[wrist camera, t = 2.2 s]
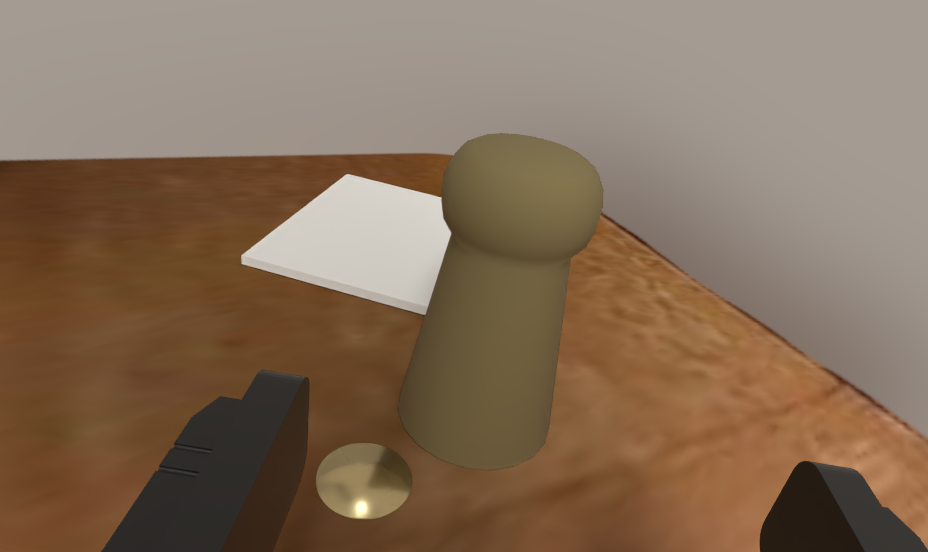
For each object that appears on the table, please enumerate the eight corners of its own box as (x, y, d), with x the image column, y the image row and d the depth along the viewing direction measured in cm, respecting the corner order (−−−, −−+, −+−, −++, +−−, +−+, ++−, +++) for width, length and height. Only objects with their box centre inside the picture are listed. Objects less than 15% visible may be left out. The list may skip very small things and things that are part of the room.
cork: (546, 486, 22) (639, 201, 17) (380, 448, 22) (417, 157, 17) (550, 380, 27) (621, 137, 22) (415, 350, 28) (452, 103, 22)
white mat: (241, 264, 31) (241, 255, 31) (346, 180, 43) (346, 173, 42) (490, 333, 30) (492, 324, 29) (532, 227, 41) (533, 220, 41)
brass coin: (299, 511, 20) (300, 503, 20) (335, 441, 23) (336, 433, 23) (396, 537, 20) (397, 529, 20) (420, 463, 23) (421, 456, 22)
